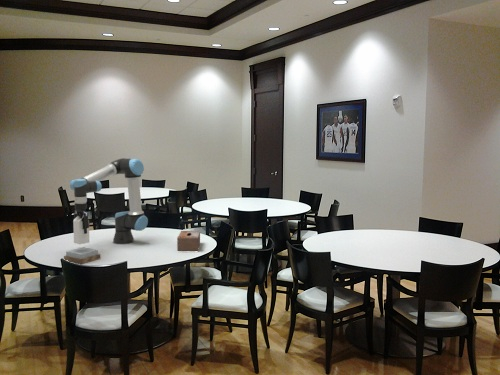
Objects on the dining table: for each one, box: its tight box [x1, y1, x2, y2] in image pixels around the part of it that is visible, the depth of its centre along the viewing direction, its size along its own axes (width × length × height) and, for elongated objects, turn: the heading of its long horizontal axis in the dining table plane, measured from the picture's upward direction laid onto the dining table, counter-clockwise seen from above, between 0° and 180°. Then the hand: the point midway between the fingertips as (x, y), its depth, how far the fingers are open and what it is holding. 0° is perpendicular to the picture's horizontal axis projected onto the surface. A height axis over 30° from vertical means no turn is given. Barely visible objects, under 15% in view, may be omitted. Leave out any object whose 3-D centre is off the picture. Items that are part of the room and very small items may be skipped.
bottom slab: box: [63, 253, 101, 265], centre depth 303 cm, size 16×16×3 cm
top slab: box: [65, 246, 99, 259], centre depth 302 cm, size 14×14×3 cm
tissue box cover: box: [176, 230, 201, 252], centre depth 339 cm, size 26×14×10 cm, turn 3°
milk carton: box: [72, 215, 90, 245], centre depth 300 cm, size 7×7×19 cm
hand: (81, 237), depth 301 cm, fingers closed on milk carton, 7 cm apart
